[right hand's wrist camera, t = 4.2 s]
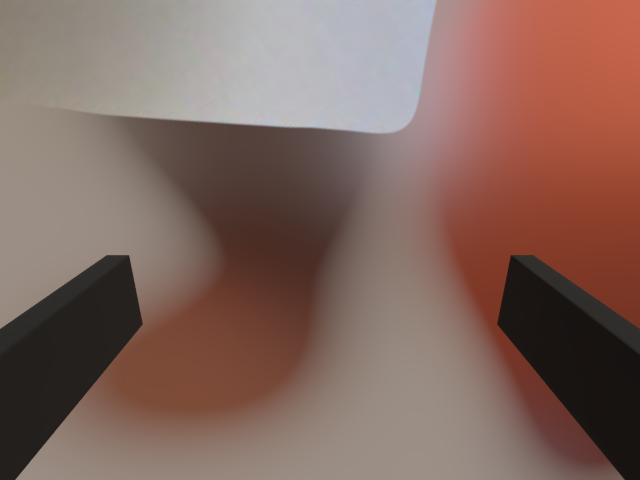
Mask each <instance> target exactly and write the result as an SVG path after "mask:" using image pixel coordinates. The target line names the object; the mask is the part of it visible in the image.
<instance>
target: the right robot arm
mask: <svg viewBox="0 0 640 480" xmlns="http://www.w3.org/2000/svg"><path fill="white" fill-rule="evenodd" d="M142 324H143V323H142V318H141V313H140V308H139V303H138V298H137V293H136V288H135V283H134V278H133V273H132V268H131V263H130V258H129V255H107V256H105V257H104V258H102V259H101V260H99V261H98V262H96V263H95V264H94V265H92V266H91V267H89V268H88V269H86V270H85V271H83V272H82V273H81V274H79V275H78V276H76V277H75V278H73V279H72V280H70V281H69V282H68V283H66V284H65V285H63V286H62V287H60V288H59V289H57V290H56V291H55V292H53V293H52V294H50V295H49V296H47V297H46V298H44V299H43V300H42V301H40V302H39V303H37V304H36V305H34V306H33V307H31V308H30V309H28V310H27V311H26V312H24V313H23V314H21V315H20V316H18V317H17V318H15V319H14V320H13V321H11V322H10V323H8V324H7V325H5V326H4V327H3V328H1V329H0V480H15V479H16V478H17V477H18V476H19V474H20V473H21V472H22V471H23V470H24V468H25V467H26V466H27V465H28V463H29V462H30V461H31V460H32V459H33V457H34V456H35V455H36V454H37V453H38V451H39V450H40V449H41V448H42V446H43V445H44V444H45V443H46V441H47V440H48V439H49V438H50V437H51V435H52V434H53V433H54V432H55V430H56V429H57V428H58V427H59V426H60V424H61V423H62V422H63V421H64V420H65V418H66V417H67V416H68V415H69V413H70V412H71V411H72V410H73V409H74V407H75V406H76V405H77V404H78V402H79V401H80V400H81V399H82V398H83V396H84V395H85V394H86V393H87V391H88V390H89V389H90V388H91V387H92V385H93V384H94V383H95V382H96V381H97V379H98V378H99V377H100V376H101V374H102V373H103V372H104V371H105V370H106V368H107V367H108V366H109V365H110V363H111V362H112V361H113V360H114V358H115V357H116V356H117V355H118V354H119V352H120V351H121V350H122V349H123V348H124V346H125V345H126V344H127V343H128V341H129V340H130V339H131V338H132V337H133V335H134V334H135V333H136V332H137V331H138V329H139V328H140V327H141V326H142ZM497 324H498V326H499V327H500V328H501V329H502V331H503V332H504V333H505V334H506V335H507V337H508V338H509V339H510V340H511V341H512V343H513V344H514V345H515V346H516V348H517V349H518V350H519V351H520V352H521V354H522V355H523V356H524V357H525V359H526V360H527V361H528V362H529V363H530V365H531V366H532V367H533V368H534V370H535V371H536V372H537V373H538V374H539V376H540V377H541V378H542V379H543V380H544V382H545V383H546V384H547V385H548V387H549V388H550V389H551V390H552V392H553V393H554V394H555V395H556V396H557V398H558V399H559V400H560V401H561V402H562V404H563V405H564V406H565V407H566V409H567V410H568V411H569V412H570V413H571V415H572V416H573V417H574V418H575V419H576V421H577V422H578V423H579V424H580V426H581V427H582V428H583V429H584V430H585V432H586V433H587V434H588V435H589V437H590V438H591V439H592V440H593V441H594V443H595V444H596V445H597V446H598V448H599V449H600V450H601V451H602V453H603V454H604V455H605V456H606V457H607V459H608V460H609V461H610V462H611V463H612V465H613V466H614V467H615V468H616V470H617V471H618V472H619V473H620V474H621V476H622V477H623V478H624V479H625V480H640V329H639V328H637V327H636V326H635V325H633V324H632V323H630V322H629V321H627V320H626V319H625V318H623V317H622V316H620V315H619V314H617V313H616V312H614V311H613V310H611V309H610V308H609V307H607V306H606V305H604V304H603V303H601V302H600V301H598V300H597V299H596V298H594V297H593V296H591V295H590V294H588V293H587V292H585V291H584V290H583V289H581V288H580V287H578V286H577V285H575V284H574V283H572V282H571V281H570V280H568V279H567V278H565V277H564V276H562V275H561V274H559V273H558V272H556V271H555V270H554V269H552V268H551V267H549V266H548V265H546V264H545V263H544V262H542V261H541V260H539V259H538V258H536V257H535V256H533V255H511V258H510V263H509V268H508V273H507V278H506V283H505V288H504V293H503V298H502V303H501V308H500V313H499V318H498V323H497Z"/></svg>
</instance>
